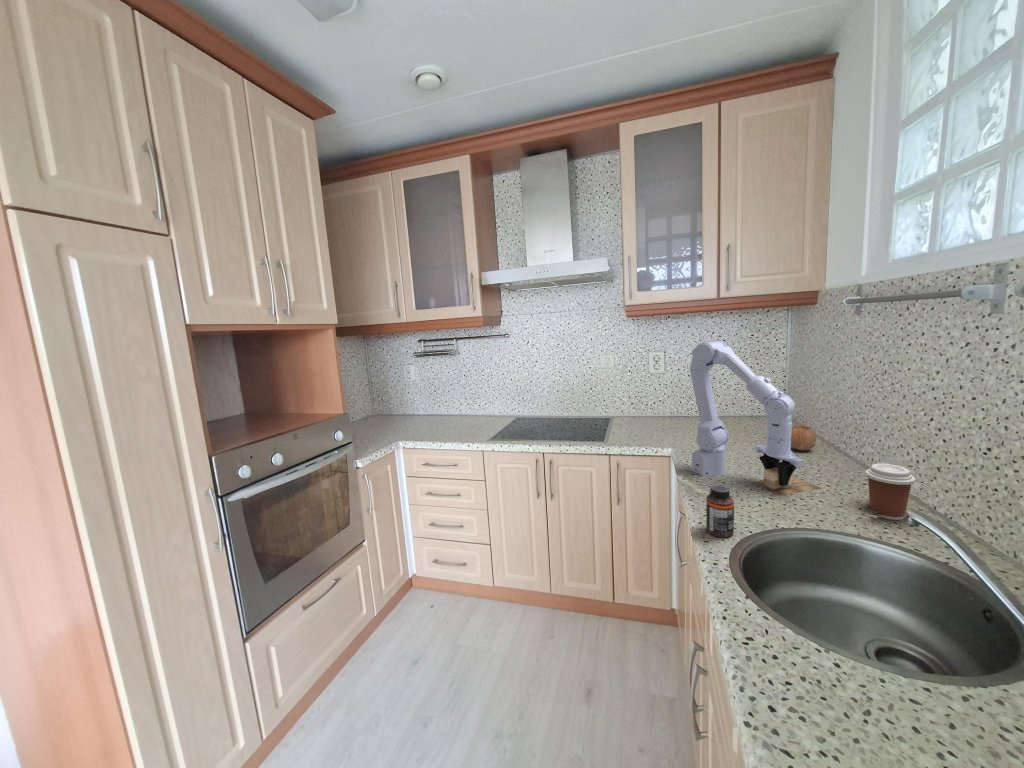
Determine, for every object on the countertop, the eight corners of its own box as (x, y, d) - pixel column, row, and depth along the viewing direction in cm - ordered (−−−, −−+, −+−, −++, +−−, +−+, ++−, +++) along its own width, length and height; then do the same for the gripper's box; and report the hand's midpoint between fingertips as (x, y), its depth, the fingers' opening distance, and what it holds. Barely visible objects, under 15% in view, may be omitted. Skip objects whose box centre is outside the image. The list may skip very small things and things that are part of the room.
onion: (813, 448, 149) (814, 422, 148) (817, 455, 141) (818, 428, 140) (783, 445, 154) (784, 420, 153) (785, 453, 146) (786, 426, 145)
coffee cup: (863, 502, 106) (866, 459, 104) (912, 511, 99) (915, 466, 98) (861, 515, 99) (864, 469, 97) (913, 526, 93) (917, 477, 91)
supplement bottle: (709, 523, 100) (709, 481, 98) (736, 530, 96) (736, 486, 95) (703, 534, 95) (703, 489, 94) (731, 541, 92) (731, 495, 90)
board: (779, 499, 111) (780, 494, 110) (752, 485, 120) (752, 481, 120) (822, 492, 113) (822, 488, 113) (791, 479, 123) (792, 475, 122)
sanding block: (773, 490, 113) (774, 473, 112) (763, 485, 117) (763, 469, 116) (791, 487, 114) (792, 471, 113) (781, 482, 118) (781, 466, 117)
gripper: (814, 443, 107) (812, 490, 109) (770, 430, 121) (769, 472, 123) (791, 445, 106) (790, 493, 108) (750, 432, 120) (749, 475, 122)
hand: (777, 482), depth 115 cm, fingers closed on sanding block, 4 cm apart
